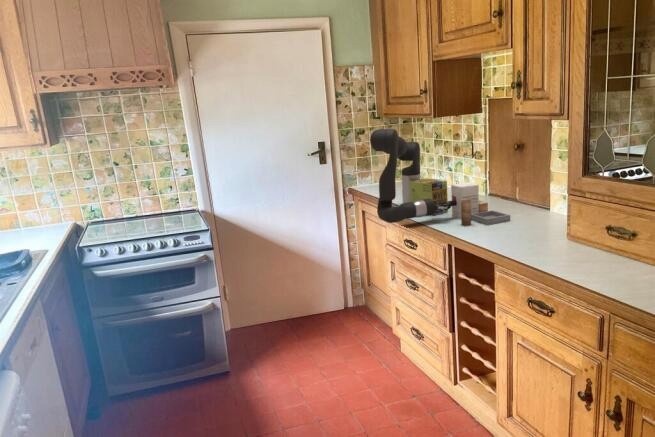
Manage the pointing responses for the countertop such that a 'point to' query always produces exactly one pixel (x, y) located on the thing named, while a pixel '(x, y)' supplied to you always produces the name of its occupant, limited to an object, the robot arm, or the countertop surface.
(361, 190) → the countertop surface
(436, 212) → the protein box
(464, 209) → the dowel
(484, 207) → the stop block
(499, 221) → the tray
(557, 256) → the countertop surface
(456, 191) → the supplement box
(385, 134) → the robot arm
